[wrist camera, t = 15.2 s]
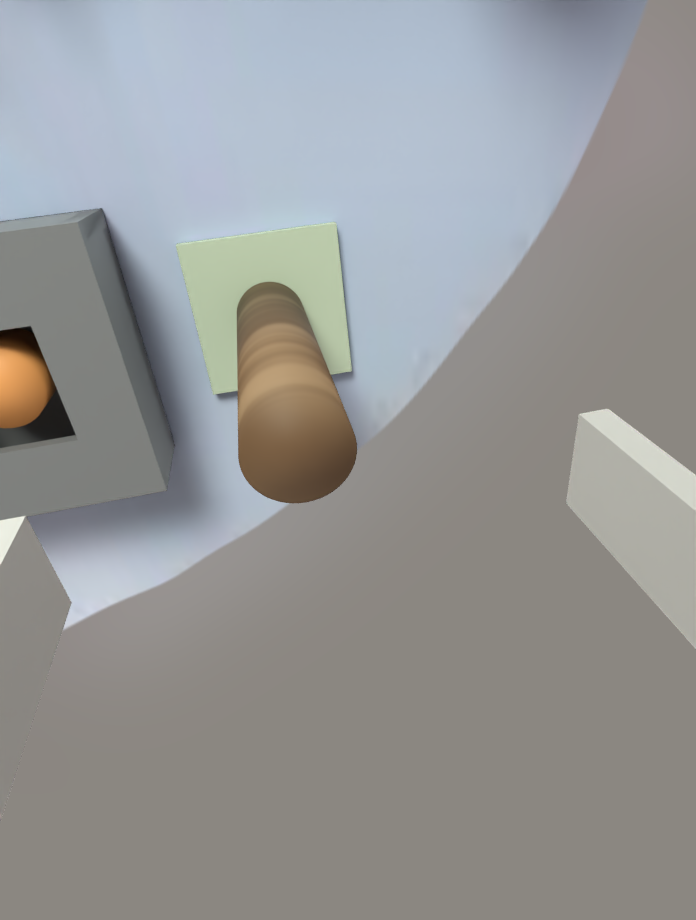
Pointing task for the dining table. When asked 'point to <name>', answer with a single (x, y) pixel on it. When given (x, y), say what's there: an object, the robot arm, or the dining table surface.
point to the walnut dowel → (287, 401)
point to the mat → (256, 261)
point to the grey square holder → (78, 372)
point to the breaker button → (22, 378)
